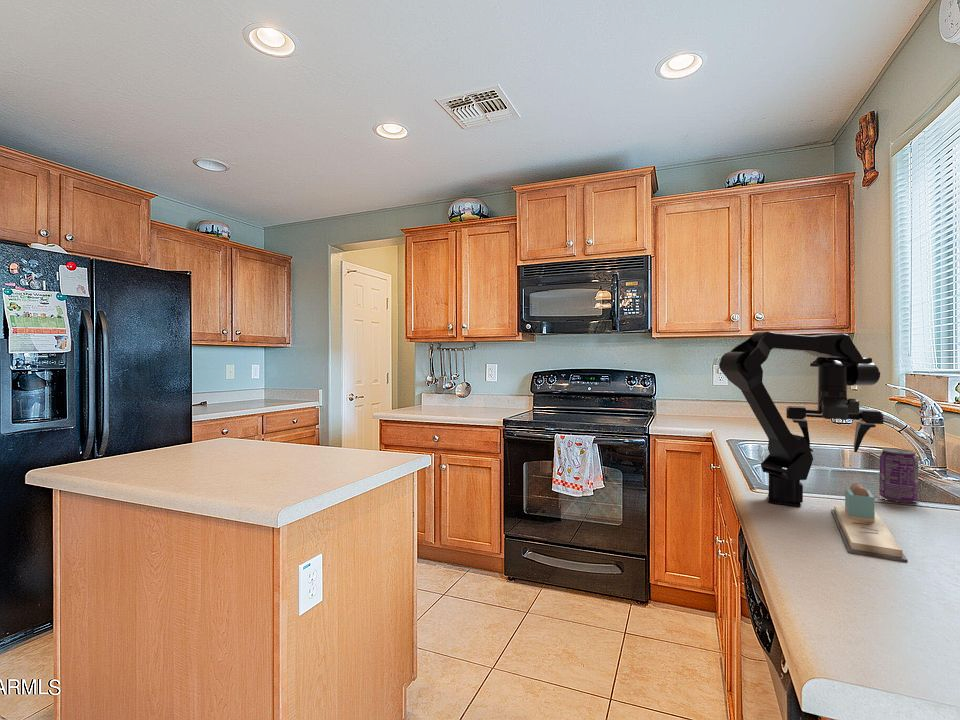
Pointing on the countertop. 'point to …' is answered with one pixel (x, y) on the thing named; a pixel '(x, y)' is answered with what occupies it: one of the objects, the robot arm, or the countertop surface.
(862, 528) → the board
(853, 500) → the teal toaster
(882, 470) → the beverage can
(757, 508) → the countertop surface
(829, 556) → the countertop surface
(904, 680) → the countertop surface
